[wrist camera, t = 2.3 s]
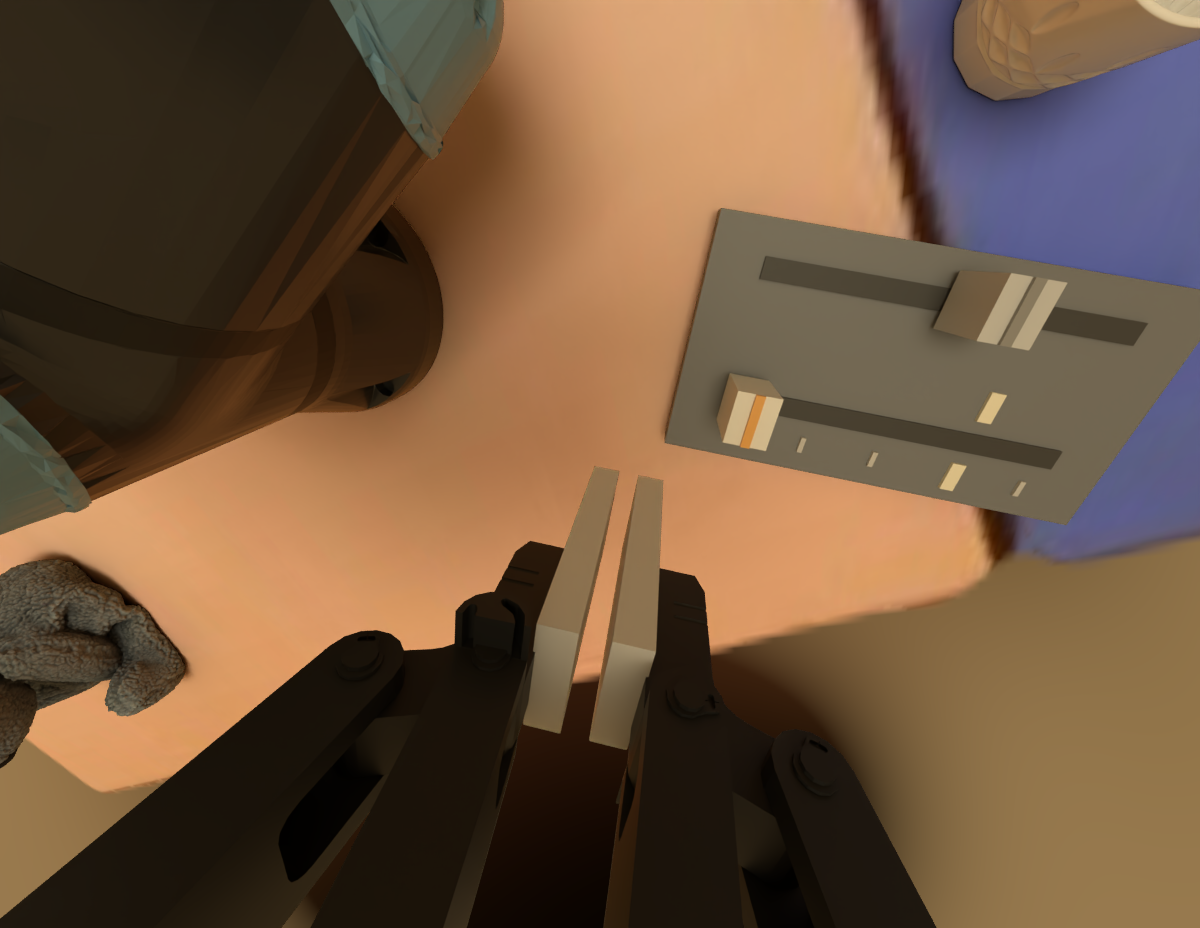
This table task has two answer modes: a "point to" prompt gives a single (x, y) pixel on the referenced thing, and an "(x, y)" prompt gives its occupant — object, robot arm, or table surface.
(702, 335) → the console
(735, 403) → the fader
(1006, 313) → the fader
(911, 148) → the table surface
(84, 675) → the koala plush
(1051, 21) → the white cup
